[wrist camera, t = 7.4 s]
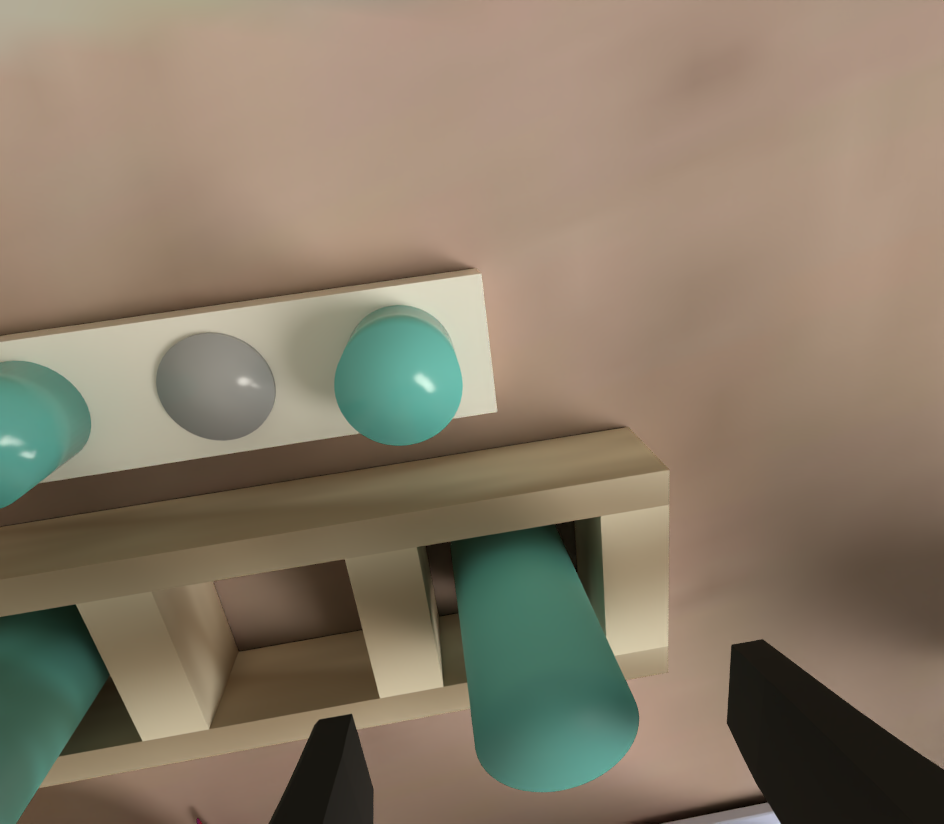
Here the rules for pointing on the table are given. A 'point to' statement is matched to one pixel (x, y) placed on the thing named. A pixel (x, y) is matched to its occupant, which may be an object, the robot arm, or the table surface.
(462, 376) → the pattern tile
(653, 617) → the beige compartment tray
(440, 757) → the table surface
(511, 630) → the pin
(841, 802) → the robot arm
